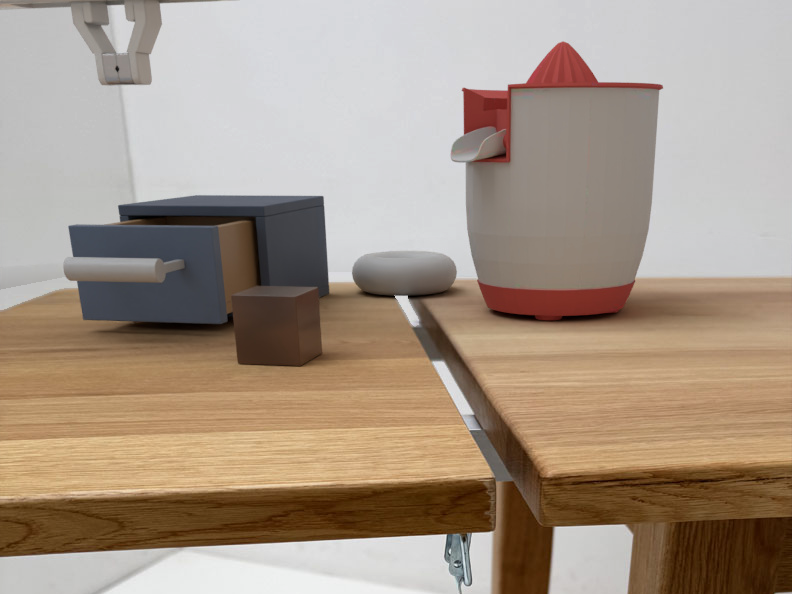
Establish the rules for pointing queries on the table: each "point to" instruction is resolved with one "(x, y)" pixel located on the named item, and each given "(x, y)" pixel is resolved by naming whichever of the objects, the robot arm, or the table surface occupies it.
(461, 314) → the table surface
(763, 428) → the table surface
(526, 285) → the citrus juicer
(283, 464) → the table surface
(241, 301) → the block
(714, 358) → the table surface
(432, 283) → the donut
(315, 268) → the cabinet
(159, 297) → the drawer
